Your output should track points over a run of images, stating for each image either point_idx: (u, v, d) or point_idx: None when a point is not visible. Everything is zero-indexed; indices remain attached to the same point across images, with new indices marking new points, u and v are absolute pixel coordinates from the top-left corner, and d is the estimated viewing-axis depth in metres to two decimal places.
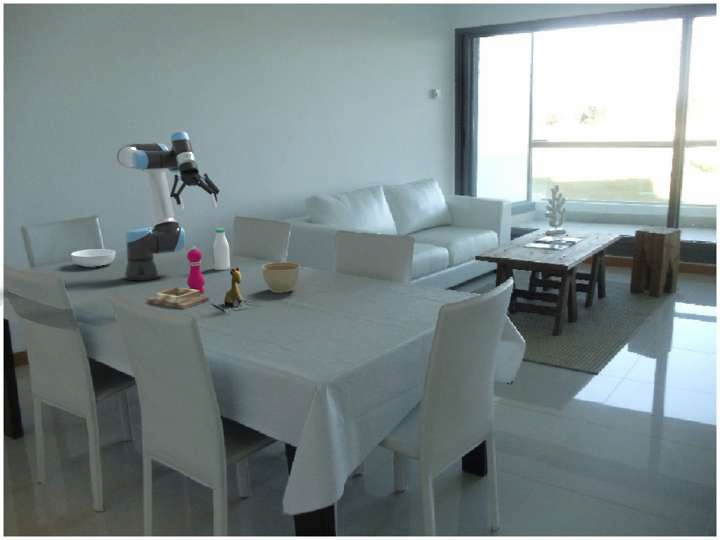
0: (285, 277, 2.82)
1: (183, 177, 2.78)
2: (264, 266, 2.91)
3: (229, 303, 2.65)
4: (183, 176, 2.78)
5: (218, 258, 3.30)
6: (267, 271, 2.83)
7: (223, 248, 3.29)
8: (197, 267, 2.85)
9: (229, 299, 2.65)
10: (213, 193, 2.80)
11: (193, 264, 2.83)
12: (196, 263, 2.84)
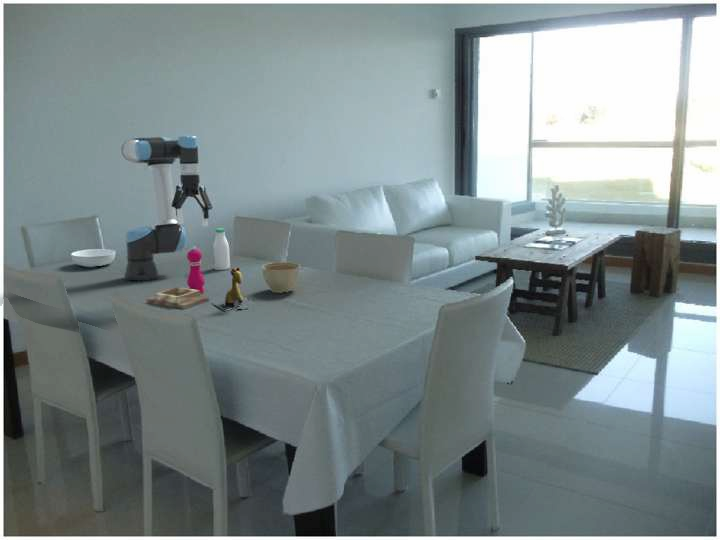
0: (285, 277, 2.82)
1: (182, 189, 2.80)
2: (264, 266, 2.91)
3: (230, 303, 2.65)
4: (182, 188, 2.80)
5: (218, 258, 3.30)
6: (267, 271, 2.83)
7: (223, 248, 3.29)
8: (197, 267, 2.85)
9: (230, 299, 2.65)
10: (202, 211, 2.76)
11: (193, 264, 2.83)
12: (196, 263, 2.84)
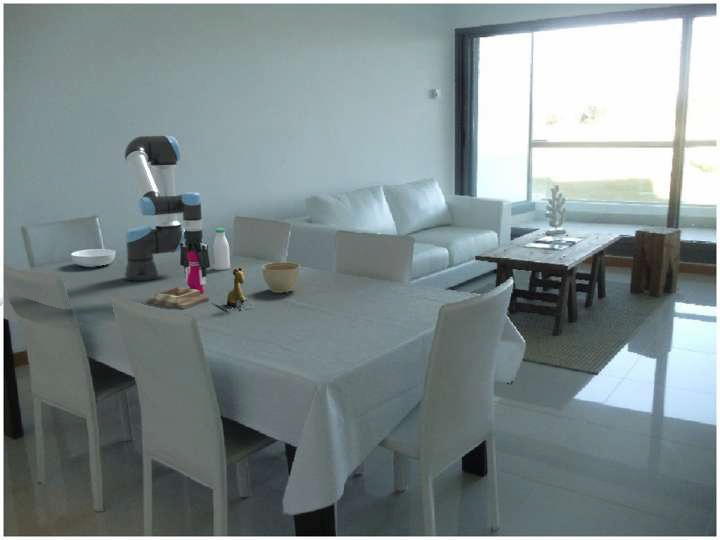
0: (285, 277, 2.82)
1: (186, 244, 2.85)
2: (264, 266, 2.91)
3: (232, 303, 2.65)
4: (186, 243, 2.84)
5: (218, 258, 3.30)
6: (267, 271, 2.83)
7: (223, 248, 3.29)
8: (197, 267, 2.85)
9: (232, 299, 2.65)
10: (200, 270, 2.83)
11: (193, 264, 2.83)
12: (196, 263, 2.84)
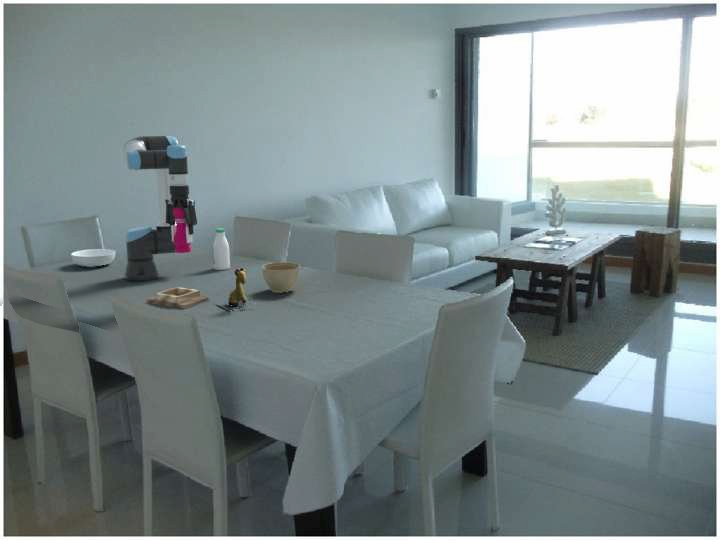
0: (285, 277, 2.82)
1: (172, 200, 2.71)
2: (264, 266, 2.91)
3: (234, 303, 2.64)
4: (171, 199, 2.71)
5: (218, 258, 3.30)
6: (267, 271, 2.83)
7: (223, 248, 3.29)
8: (184, 224, 2.71)
9: (234, 299, 2.64)
10: (187, 227, 2.70)
11: (179, 221, 2.70)
12: (182, 220, 2.70)
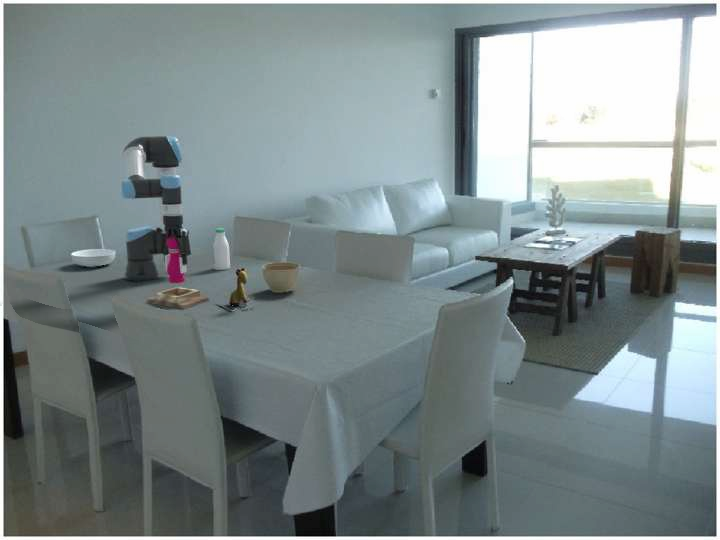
0: (285, 277, 2.82)
1: (165, 230, 2.68)
2: (264, 266, 2.91)
3: (235, 303, 2.64)
4: (165, 229, 2.68)
5: (218, 258, 3.30)
6: (267, 271, 2.83)
7: (223, 248, 3.29)
8: (177, 254, 2.68)
9: (235, 299, 2.64)
10: (180, 257, 2.66)
11: (173, 251, 2.67)
12: (176, 250, 2.67)
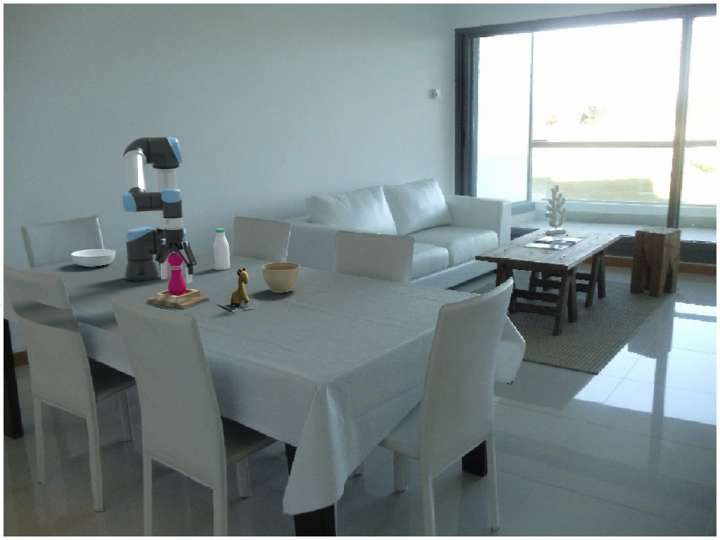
0: (285, 277, 2.82)
1: (166, 243, 2.69)
2: (264, 266, 2.91)
3: (236, 303, 2.64)
4: (166, 242, 2.69)
5: (218, 258, 3.30)
6: (267, 271, 2.83)
7: (223, 248, 3.29)
8: (178, 271, 2.70)
9: (236, 299, 2.64)
10: (186, 267, 2.66)
11: (174, 268, 2.68)
12: (177, 267, 2.69)
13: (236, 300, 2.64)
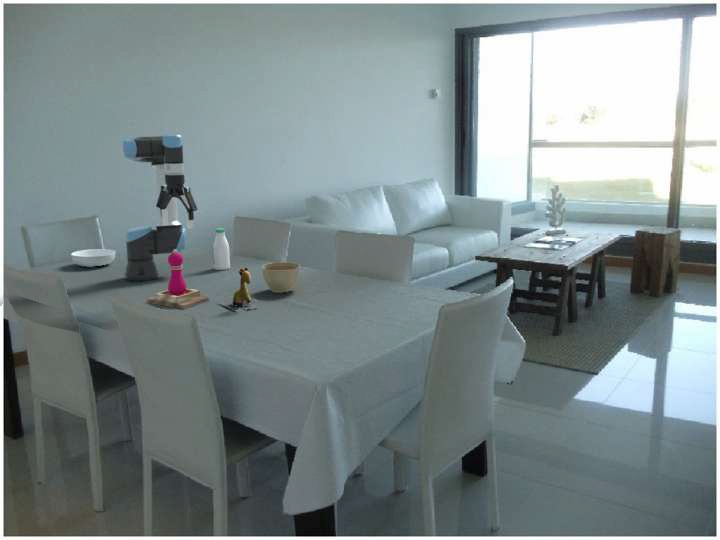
0: (285, 277, 2.82)
1: (167, 189, 2.72)
2: (264, 266, 2.91)
3: (238, 303, 2.64)
4: (167, 188, 2.72)
5: (218, 258, 3.30)
6: (267, 271, 2.83)
7: (223, 248, 3.29)
8: (178, 271, 2.70)
9: (238, 299, 2.64)
10: None
11: (174, 268, 2.68)
12: (177, 267, 2.69)
13: (238, 300, 2.64)
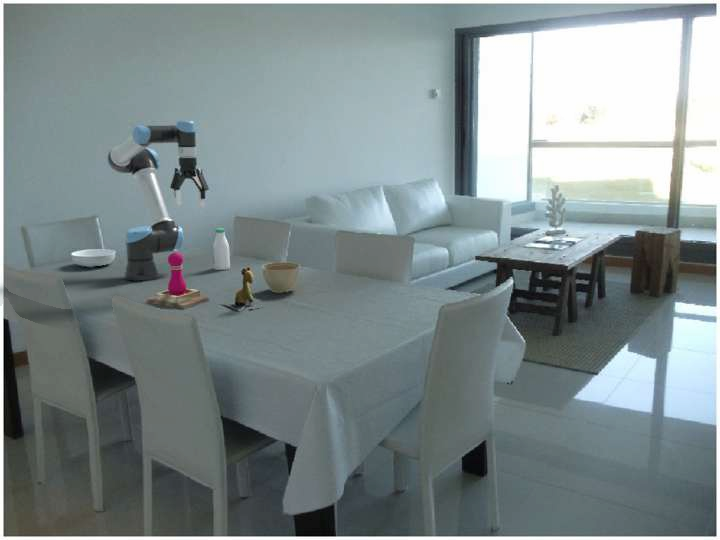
0: (285, 277, 2.82)
1: (180, 171, 2.97)
2: (264, 266, 2.91)
3: (241, 303, 2.65)
4: (180, 170, 2.97)
5: (218, 258, 3.30)
6: (267, 271, 2.83)
7: (223, 248, 3.29)
8: (178, 271, 2.70)
9: (241, 299, 2.65)
10: (199, 192, 2.94)
11: (174, 268, 2.68)
12: (177, 267, 2.69)
13: (241, 300, 2.65)
